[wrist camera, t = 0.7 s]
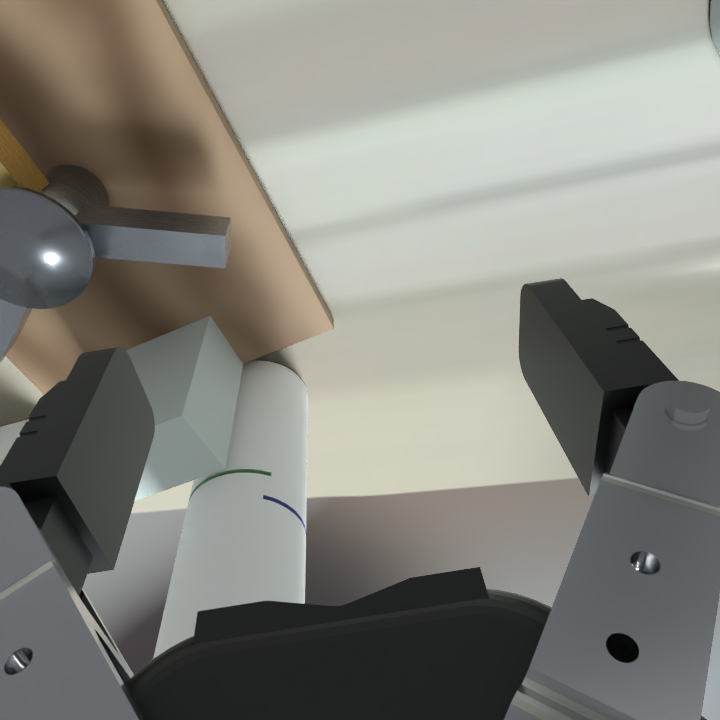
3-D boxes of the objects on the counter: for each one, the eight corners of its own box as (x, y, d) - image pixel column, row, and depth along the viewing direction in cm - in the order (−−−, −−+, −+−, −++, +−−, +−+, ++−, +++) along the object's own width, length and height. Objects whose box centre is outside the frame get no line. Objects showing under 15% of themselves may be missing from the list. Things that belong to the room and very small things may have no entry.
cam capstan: (95, -52, 27) (31, -49, 21) (250, 220, 35) (236, 279, 29) (-176, 103, 30) (-301, 145, 24) (24, 320, 38) (-32, 392, 32)
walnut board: (121, -77, 27) (114, -77, 26) (333, 319, 41) (333, 328, 40) (-211, 114, 31) (-228, 119, 30) (83, 418, 44) (77, 428, 44)
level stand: (210, 315, 38) (181, 415, 30) (243, 363, 41) (225, 468, 33) (82, 368, 40) (24, 475, 32) (122, 411, 43) (77, 521, 35)
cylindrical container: (275, 445, 47) (246, 821, 27) (196, 407, 45) (97, 796, 24) (326, 388, 44) (335, 766, 24) (244, 344, 41) (177, 730, 21)
